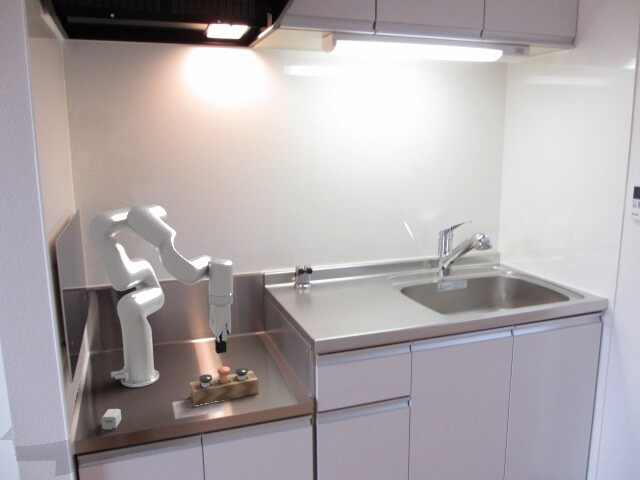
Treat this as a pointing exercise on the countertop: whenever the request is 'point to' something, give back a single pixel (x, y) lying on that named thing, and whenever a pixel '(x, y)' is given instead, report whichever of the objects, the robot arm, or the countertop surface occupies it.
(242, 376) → the grey plug far
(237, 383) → the socket strip
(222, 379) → the rust plug
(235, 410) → the countertop surface
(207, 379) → the grey plug near
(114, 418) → the usb wall charger
